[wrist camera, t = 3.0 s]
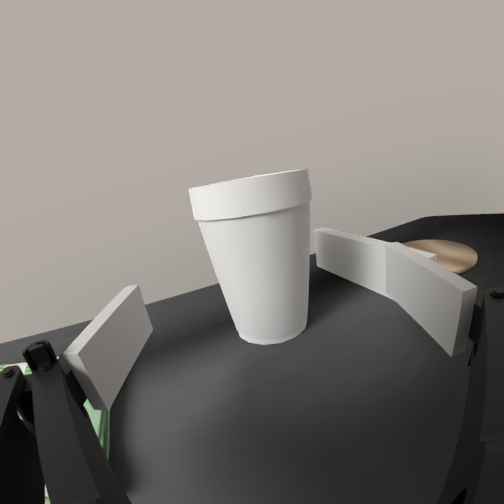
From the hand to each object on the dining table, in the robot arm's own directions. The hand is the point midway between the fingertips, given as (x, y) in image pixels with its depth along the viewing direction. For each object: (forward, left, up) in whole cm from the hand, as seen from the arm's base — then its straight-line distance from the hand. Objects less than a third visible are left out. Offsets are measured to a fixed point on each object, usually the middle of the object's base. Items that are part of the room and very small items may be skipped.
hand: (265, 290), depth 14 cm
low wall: (-15, -10, -7) cm, 20 cm away
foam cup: (-3, -9, -8) cm, 12 cm away
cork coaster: (-27, -9, -7) cm, 30 cm away
